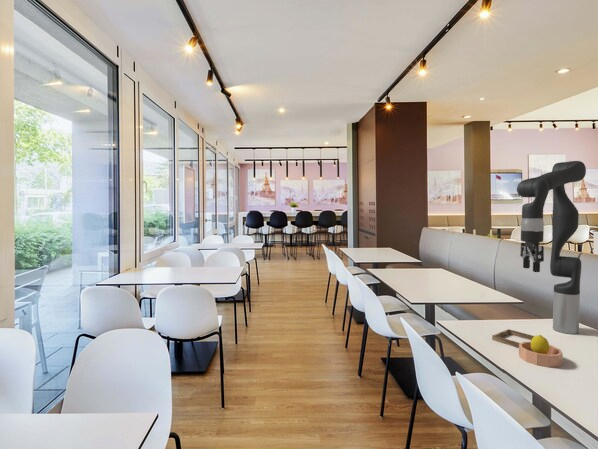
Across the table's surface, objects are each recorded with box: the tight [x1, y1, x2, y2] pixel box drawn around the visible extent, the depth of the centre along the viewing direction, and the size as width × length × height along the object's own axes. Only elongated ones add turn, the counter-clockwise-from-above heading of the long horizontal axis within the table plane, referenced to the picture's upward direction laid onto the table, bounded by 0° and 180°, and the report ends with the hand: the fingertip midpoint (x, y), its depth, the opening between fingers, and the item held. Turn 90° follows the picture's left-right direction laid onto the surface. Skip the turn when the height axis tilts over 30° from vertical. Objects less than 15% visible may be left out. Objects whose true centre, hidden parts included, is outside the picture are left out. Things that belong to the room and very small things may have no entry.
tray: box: [491, 328, 535, 349], centre depth 141 cm, size 14×14×2 cm
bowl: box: [518, 341, 564, 368], centre depth 124 cm, size 13×13×4 cm
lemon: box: [530, 334, 550, 354], centre depth 124 cm, size 6×6×8 cm
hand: (531, 270), depth 137 cm, fingers open, 8 cm apart
